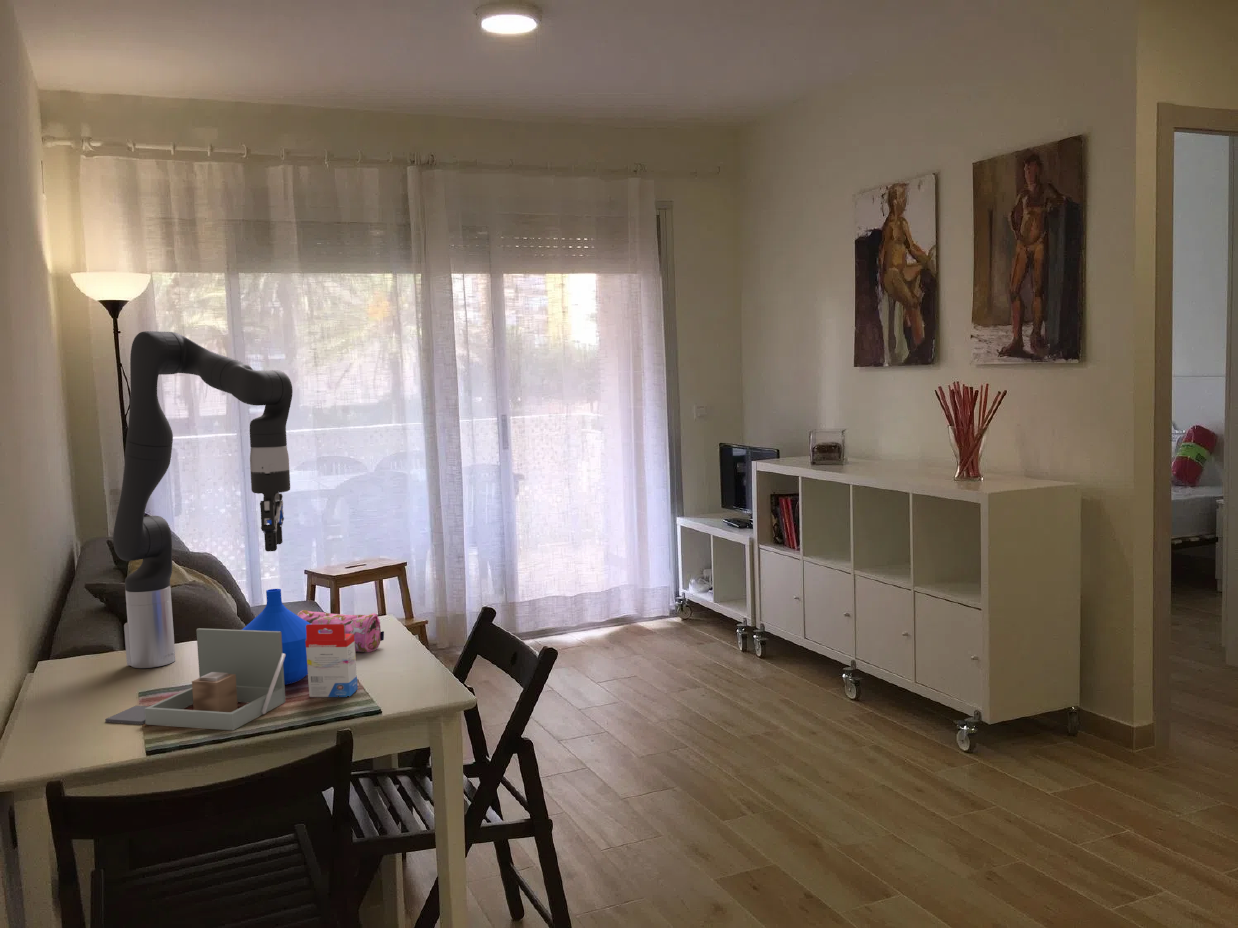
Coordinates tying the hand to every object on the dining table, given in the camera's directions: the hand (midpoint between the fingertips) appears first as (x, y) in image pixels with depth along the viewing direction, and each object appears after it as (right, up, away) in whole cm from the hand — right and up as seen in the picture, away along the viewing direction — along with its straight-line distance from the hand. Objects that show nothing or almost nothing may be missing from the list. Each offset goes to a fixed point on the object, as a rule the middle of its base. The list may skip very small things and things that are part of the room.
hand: (274, 547), depth 210 cm
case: (-6, -30, -16) cm, 35 cm away
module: (-6, -30, -16) cm, 35 cm away
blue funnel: (-1, -29, +6) cm, 29 cm away
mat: (-20, -31, -16) cm, 40 cm away
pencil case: (+5, -27, +30) cm, 40 cm away
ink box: (+14, -29, -6) cm, 32 cm away
